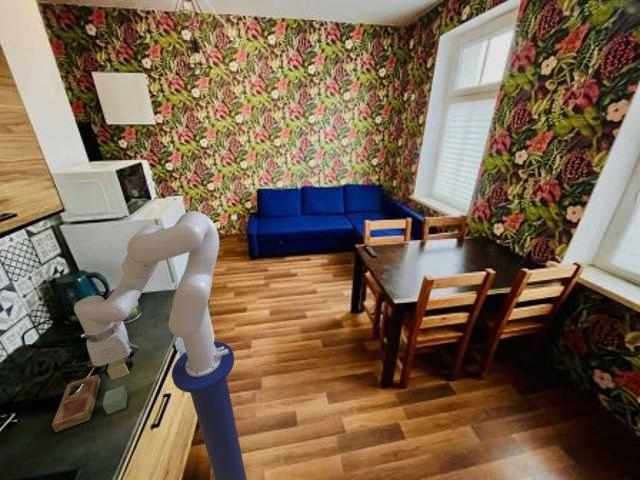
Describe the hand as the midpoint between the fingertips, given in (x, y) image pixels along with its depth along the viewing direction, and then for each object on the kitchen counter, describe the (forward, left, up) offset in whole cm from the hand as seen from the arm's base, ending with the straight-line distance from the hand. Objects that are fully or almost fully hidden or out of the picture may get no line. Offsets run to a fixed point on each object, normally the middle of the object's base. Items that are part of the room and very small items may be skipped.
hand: (121, 370), depth 94 cm
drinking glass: (+2, -14, -5) cm, 15 cm away
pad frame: (+12, +4, -5) cm, 13 cm away
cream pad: (0, 0, 0) cm, 0 cm away
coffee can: (+3, -41, -5) cm, 42 cm away
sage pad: (+1, +10, -5) cm, 11 cm away
